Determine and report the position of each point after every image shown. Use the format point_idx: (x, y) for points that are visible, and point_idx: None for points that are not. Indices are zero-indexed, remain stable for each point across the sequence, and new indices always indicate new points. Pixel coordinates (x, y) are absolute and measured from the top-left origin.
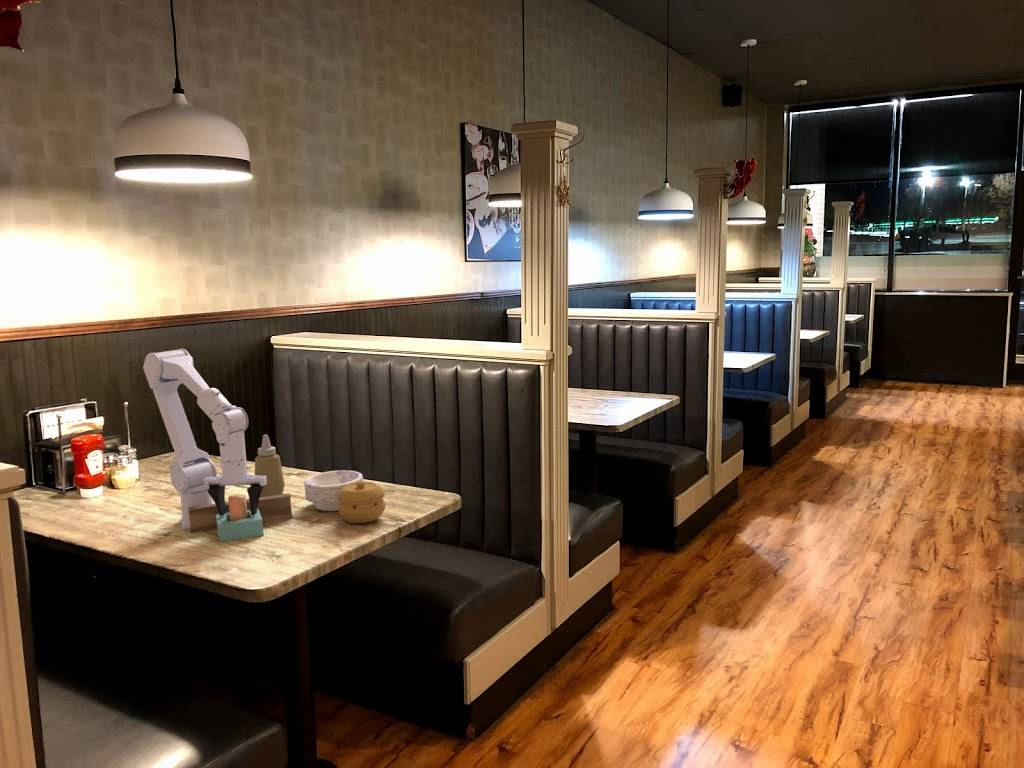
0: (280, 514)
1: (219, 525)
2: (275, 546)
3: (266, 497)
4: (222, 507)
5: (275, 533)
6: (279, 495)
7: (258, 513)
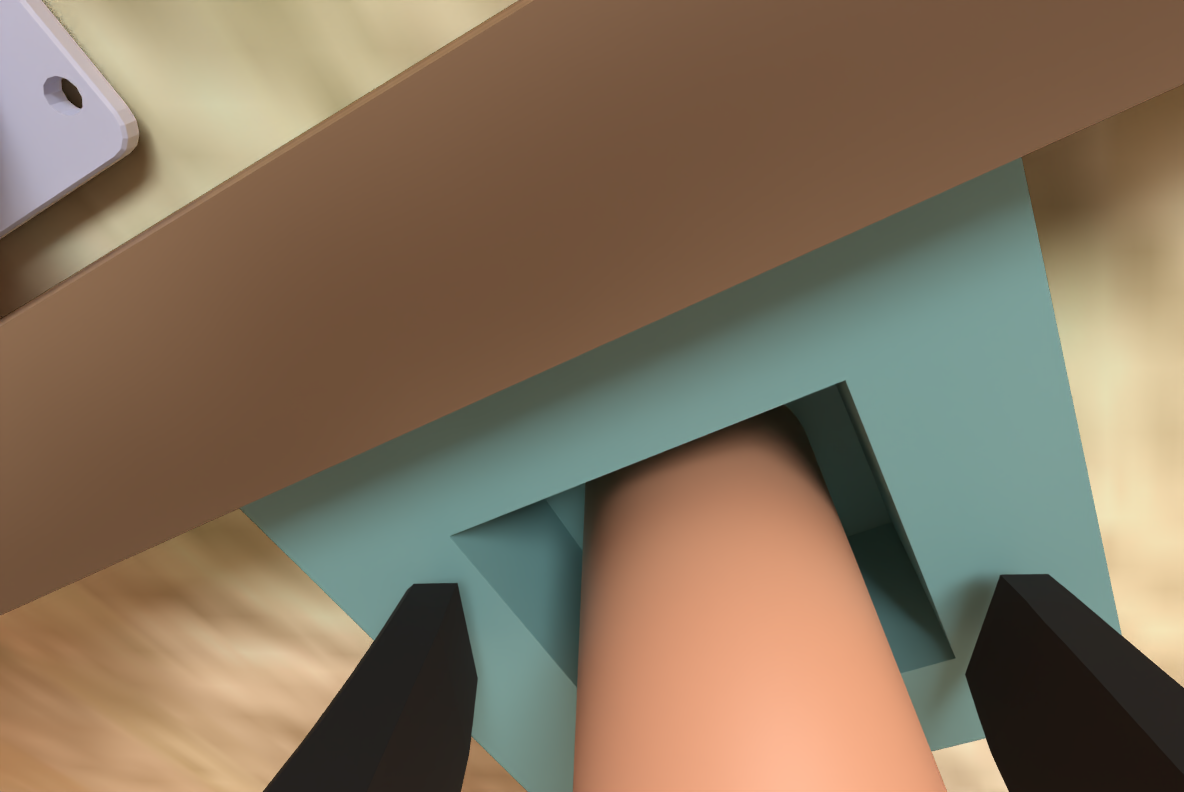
0: None
1: None
2: None
3: None
4: (440, 786)
5: (1156, 439)
6: None
7: (1056, 485)
